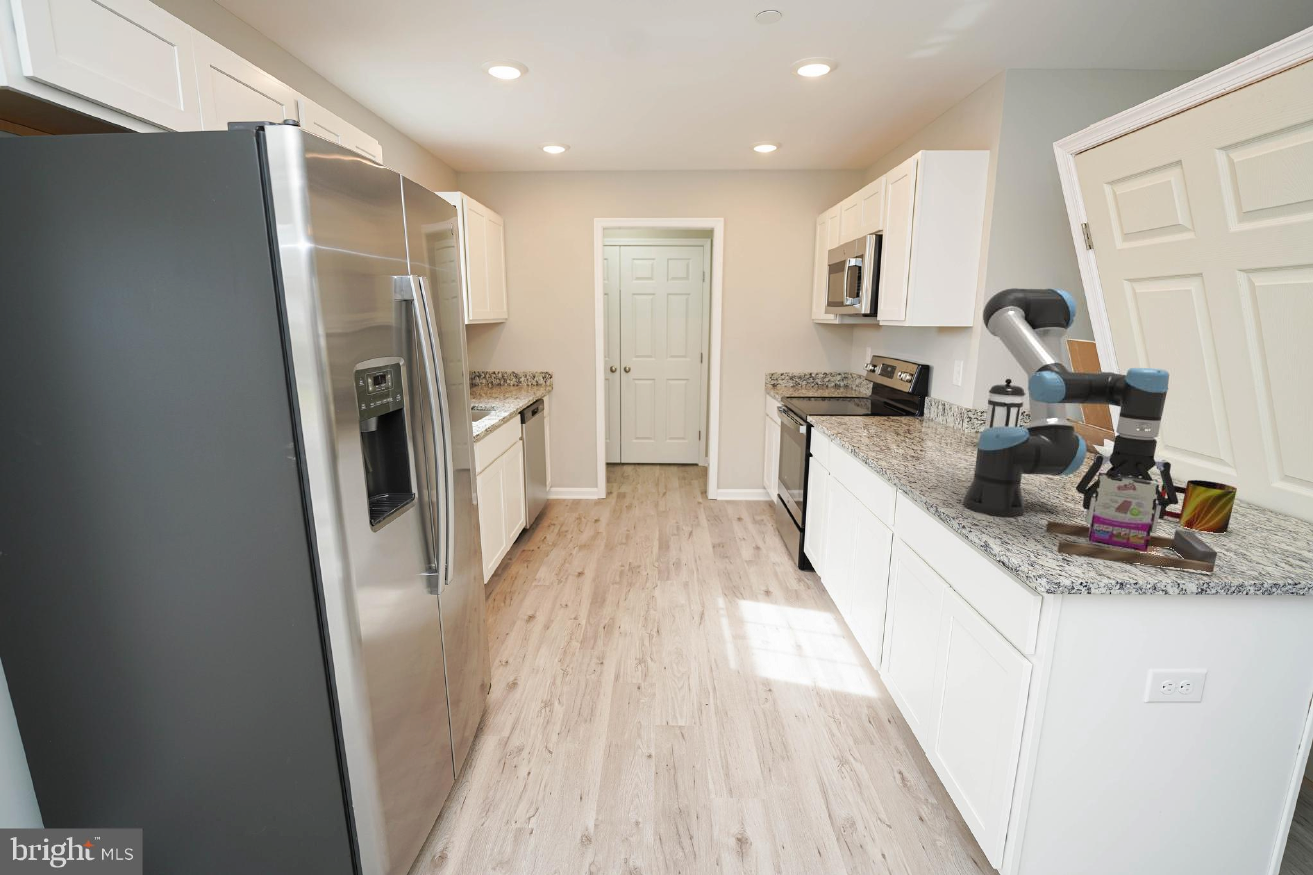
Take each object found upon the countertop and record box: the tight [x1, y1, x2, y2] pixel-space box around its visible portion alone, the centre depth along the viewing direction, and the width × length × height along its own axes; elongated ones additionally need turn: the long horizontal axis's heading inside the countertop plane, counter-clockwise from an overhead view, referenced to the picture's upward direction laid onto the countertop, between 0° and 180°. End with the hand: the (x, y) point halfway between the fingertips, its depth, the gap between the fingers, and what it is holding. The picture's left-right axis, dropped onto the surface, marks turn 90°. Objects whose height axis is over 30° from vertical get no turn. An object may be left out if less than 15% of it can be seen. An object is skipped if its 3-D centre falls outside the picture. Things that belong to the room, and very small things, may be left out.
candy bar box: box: [1088, 471, 1160, 552], centre depth 139 cm, size 11×5×16 cm, turn 55°
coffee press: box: [984, 378, 1026, 430], centre depth 241 cm, size 17×16×30 cm
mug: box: [1160, 479, 1238, 533], centre depth 158 cm, size 10×14×12 cm
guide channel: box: [1046, 520, 1218, 573], centre depth 140 cm, size 28×16×5 cm, turn 66°
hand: (1119, 526), depth 140 cm, fingers closed on candy bar box, 11 cm apart
